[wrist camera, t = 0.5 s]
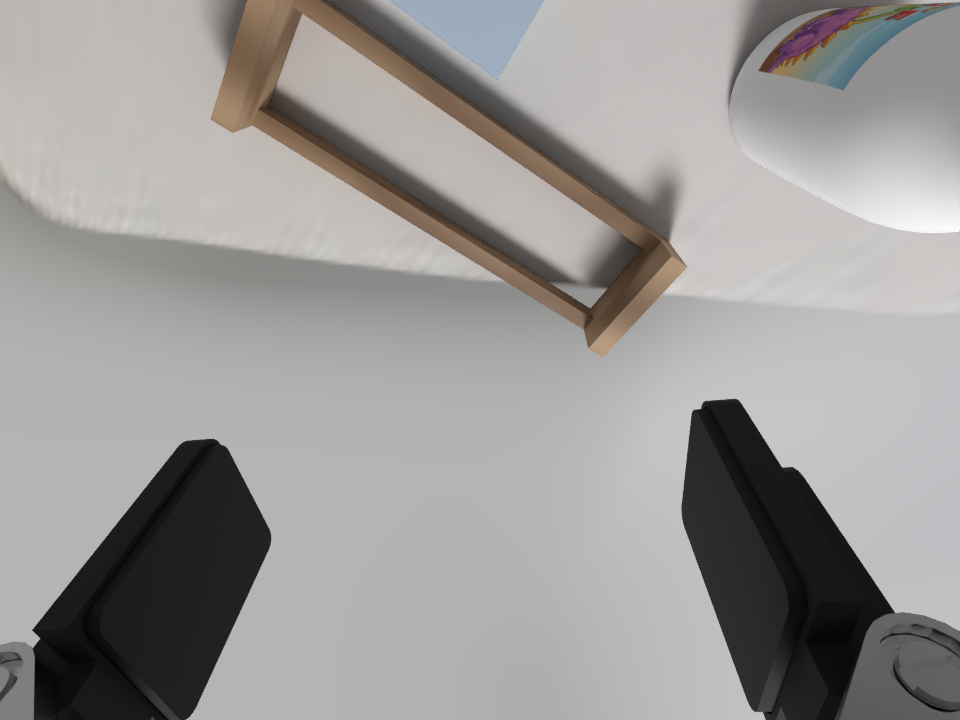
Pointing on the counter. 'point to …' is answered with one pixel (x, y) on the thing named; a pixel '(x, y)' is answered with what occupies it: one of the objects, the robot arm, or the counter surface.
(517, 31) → the pale blue upright box
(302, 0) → the bottom track
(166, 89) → the counter surface
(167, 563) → the robot arm
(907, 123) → the milk bottle
